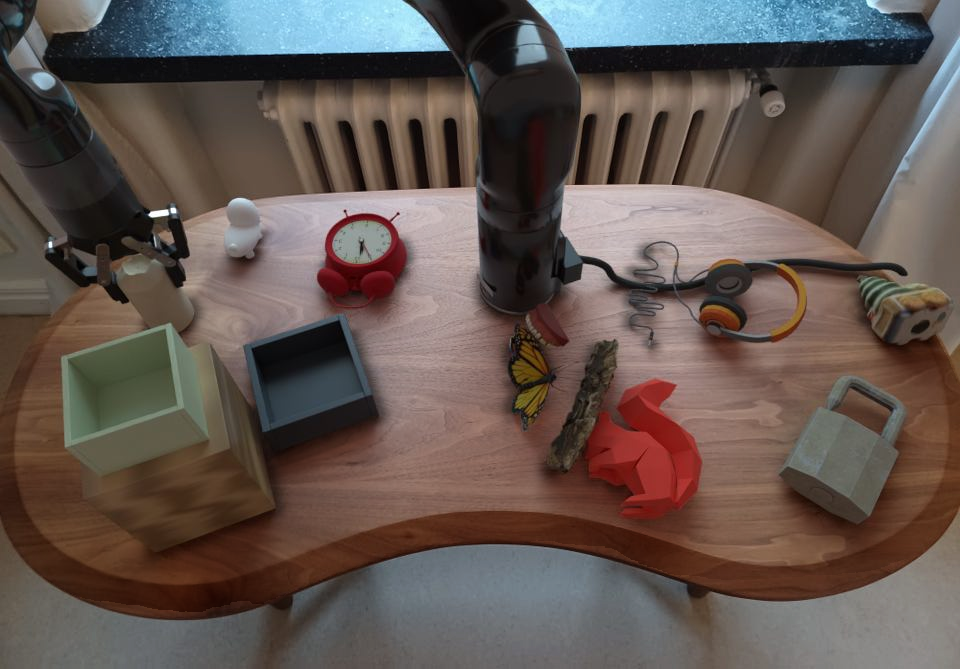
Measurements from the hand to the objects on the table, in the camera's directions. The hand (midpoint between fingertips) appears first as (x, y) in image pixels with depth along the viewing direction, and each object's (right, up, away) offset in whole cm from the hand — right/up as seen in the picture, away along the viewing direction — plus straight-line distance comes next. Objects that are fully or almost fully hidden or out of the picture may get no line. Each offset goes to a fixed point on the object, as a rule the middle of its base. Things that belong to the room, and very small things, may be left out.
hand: (153, 289), depth 78 cm
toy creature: (+7, +7, +11) cm, 15 cm away
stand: (+10, -20, -8) cm, 24 cm away
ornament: (+88, -4, -4) cm, 88 cm away
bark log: (+50, -14, -5) cm, 52 cm away
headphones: (+66, -2, +3) cm, 66 cm away
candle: (0, -3, +5) cm, 6 cm away
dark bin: (+19, -12, -2) cm, 23 cm away
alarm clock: (+23, +3, +8) cm, 25 cm away
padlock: (+71, -21, -13) cm, 75 cm away
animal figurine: (+55, -18, -7) cm, 58 cm away
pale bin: (+9, -12, -19) cm, 25 cm away
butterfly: (+46, -11, -5) cm, 48 cm away
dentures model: (+46, -3, -6) cm, 46 cm away
